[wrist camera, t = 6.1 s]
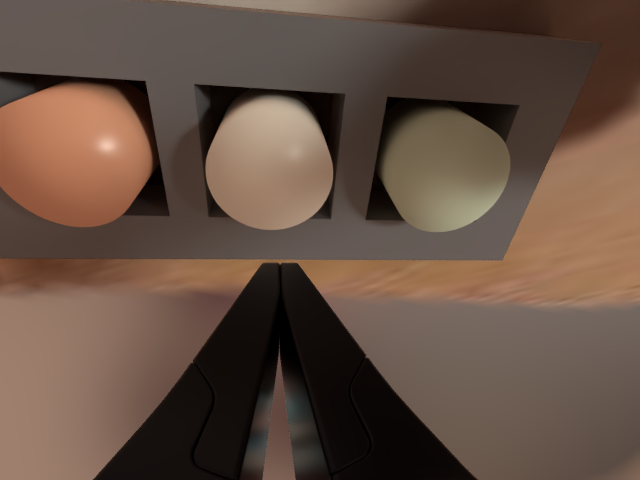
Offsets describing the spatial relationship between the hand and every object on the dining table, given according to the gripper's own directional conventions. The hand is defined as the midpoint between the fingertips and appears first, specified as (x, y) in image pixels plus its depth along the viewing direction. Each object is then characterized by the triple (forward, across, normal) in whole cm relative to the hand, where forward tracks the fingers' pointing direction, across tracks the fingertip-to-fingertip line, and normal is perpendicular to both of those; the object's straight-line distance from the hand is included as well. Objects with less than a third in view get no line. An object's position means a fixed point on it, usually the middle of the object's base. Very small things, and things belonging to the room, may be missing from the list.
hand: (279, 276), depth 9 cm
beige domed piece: (+10, 0, 0) cm, 10 cm away
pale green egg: (+10, -7, 0) cm, 12 cm away
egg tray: (+10, 0, 0) cm, 10 cm away
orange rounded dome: (+10, +7, 0) cm, 12 cm away
